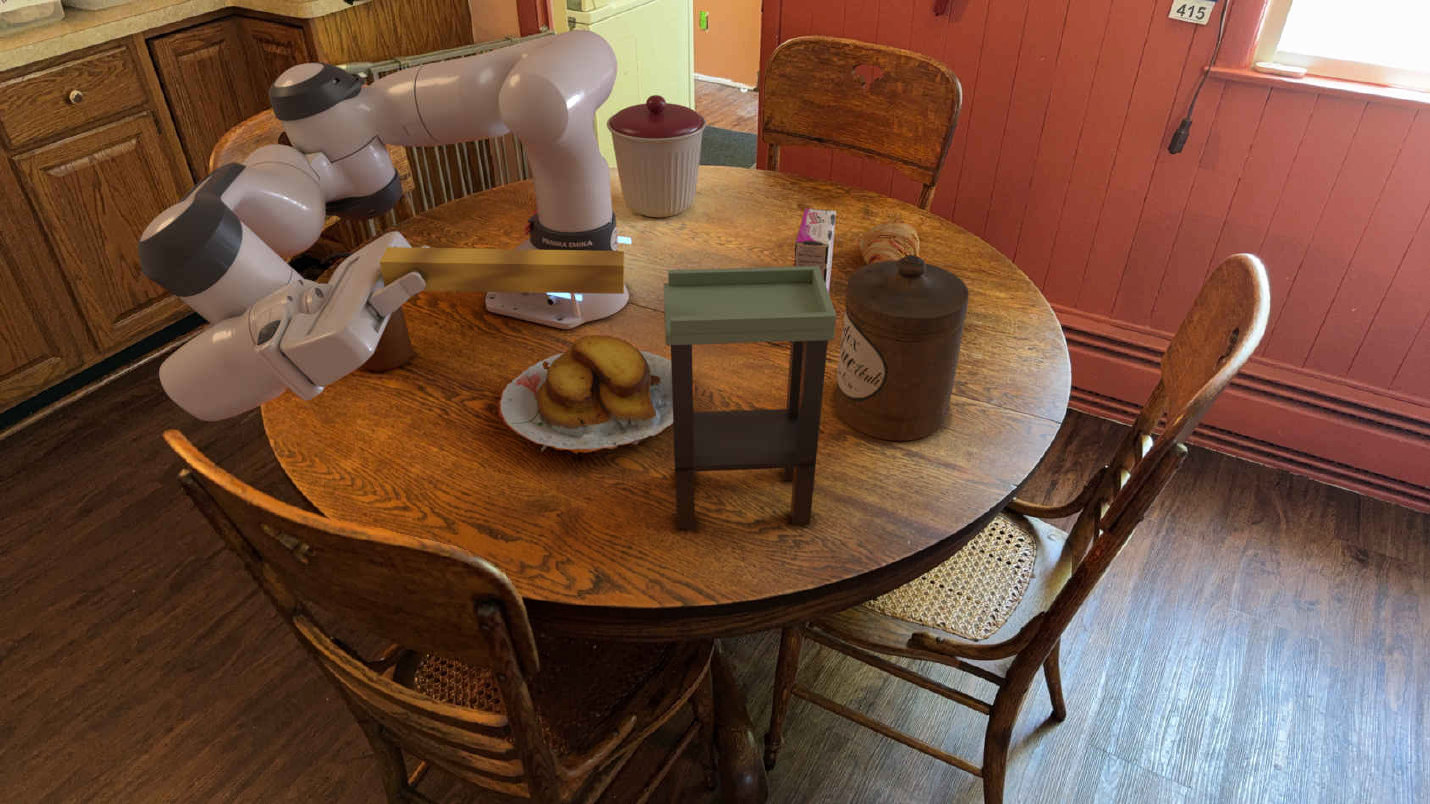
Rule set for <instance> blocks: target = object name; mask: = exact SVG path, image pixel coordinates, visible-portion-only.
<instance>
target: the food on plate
mask: <svg viewBox="0 0 1430 804" xmlns="http://www.w3.org/2000/svg"><path fill="white" fill-rule="evenodd" d="M545 362H546V363H548V365H547V367H548V369H545V368H544V365H543V364H544V363H545ZM695 389H696V388H695V384H694V383H693V403H694V402H695V399H694V395H696V390H695ZM497 408H498V410H497V413H498V418H499V419H501V420H502V422H503V424H504V425H505V426H508V429H509V430H510V431H511V430H513V433H514V434H516V435H518V436H521V437H523V438H524V439H526V440H527V441H531V442H533V443H534V444H536V445H537V444H538V445H542V447H541V451H540V452H543V451H545V449H546V448H547V447H551V448H553V449H555V450H559V451H564V450H567V451H571V452H572V453H574V454H576V455H577V454H578V453H584V454H587V453H591V452H597V451H600V450H602V449H610V450H611V449H612V450H614V449H618V448H619V447H618V446H624V445H628V444H629V445H630V444H632V445H638V444H639V442H642V441H643V440H644V439H647V438H649V436H651V437H654V436H656V435H659V434H661V433H662V432H663V431H664V430H665V429H666V428H667V427H670V426H673V401H672V371H671V359H670V358H666V357H664V356H662V355H660V354H656V353H654V352H649V351H646V350H643V349H638V348H637V347H636V346H634V345H632V343H630V342H629V341H626V340H624V339H621V338H619V337H614V336H612V335H604V334H602V335H601V334H592V335H585V336H581V337H580V338H577V339H575V340H574V341H573V342H572V345H571V349H568V350H566V351H565V352H561V353H557V354H552V355H551V356H548V357H546V358H545V359H543V360H541V361H538V362H536V363H535V364H534V365H531V366H529V367H528V368H527V369H526V370H524V371H523V372H521V374H519V375H518V376H517V377H515V378H514V379H512V381H511V383H510V382H508V383H506V384H505V386H504V387H503V389H502V391H501V393H500V398H499V400H498V404H497ZM575 459H576V460H577V459H578V458H577V457H575Z"/></svg>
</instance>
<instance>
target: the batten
mask: <svg viewBox="0 0 1430 804" xmlns="http://www.w3.org/2000/svg"><path fill="white" fill-rule="evenodd" d="M380 267H381V272H382V277H383V282H384V287H386V286H388V285H389V284H391V283H393V282H394V281H396V280H397V279H399V278H400V277H401V275H402V274H403V273H405V272H407V271H409V270H411V269H412V268H414V267H417V268H419V269H421V270H422V272H423V274H425V275H426V277H427V278H428V281H427V284H426V286H425V288H424V290H422V291H421V292H448V293H449V292H452V293H454V292H457V293H459V292H460V293H488V292H523V293H600V294H624V283H625V251H624V250H617V251H585V250H528V249H514V248H471V247H469V248H461V247H430V248H421V247H413V246H411V247H387V249H386V250H385V252H384V254H383V256H382V258H381V260H380Z"/></svg>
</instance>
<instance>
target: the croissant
mask: <svg viewBox="0 0 1430 804" xmlns="http://www.w3.org/2000/svg"><path fill="white" fill-rule="evenodd" d="M859 250H860V253H861V255H862V256H861V257H862V260H863V261H864V262H865V265H868V264H871V263H875V262H880V261H888V260H900V259H901V258H903V257H906V256H908V255H915V256H918V257H919V255H920V238H919V234H918V232H917V231H916V229H915V228H914V227H912V226H911V225H910V224H907V223H906V222H905V221H904V220H899V219H898V220H897V219H895V220H894V221H887V222H886V221H885V222H881V223H879V224H877V225H875V226H873V227H872V228H870V229H868V230H867V231H866V232H865V233H864V234H863V235H862V236H861V237H860V240H859ZM919 258H920V257H919Z"/></svg>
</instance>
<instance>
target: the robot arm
mask: <svg viewBox="0 0 1430 804" xmlns="http://www.w3.org/2000/svg"><path fill="white" fill-rule="evenodd" d="M617 75H618V60H617V57H616V54H615V51H614V49H613V47H612V46H611V45H610V43H609V42H608V41H607V40H606V39H605V38H604V37H603V36H601V34H598V33H596V32H594V31H592V30H589V29H588V30H587V29H575V30H569V31H568V30H567V31H564V32H558V33H554V34H550V35H547V36H542V37H538V38H535V39H530V40H527V41H523V42H519V43H514V44H512V45H508V46H505V47H500V48H497V49H493V50H490V51H486V52H483V53H480V54H474V55H471V56H465V57H459V58H454V59H453V58H452V59H448V60H441V61H437V62H431V63H426V64H421V65H416V66H412V67H409V68H404V69H401V70H399V71H395V72H393V73H390V74H388V75H385V76H383V77H381V78H378V79H377V80H374V82H372V83H371V84H370V85H368V86H365V87H363V86H364V85H365V82H366V81H365V78H363V77H362V76H361V75H360V74H359V73H356V72H348V71H347V70H345V69H344V68H342V67H340V66H337V65H333V64H332V63H327V62H323V61H317V62H307V63H302V64H296V65H294V66H292V67H290V68H288V69H287V70H285V71H284V72H283V73H281V75H279V76H278V77H277V78H275V79H274V80H273V81H272V83H271V85H270V86H269V90H268V91H267V92H268V99H269V102H270V106H271V109H272V111H273V113H274V115H275V118H276V119H277V120H279V121H280V123H281V125H282V127H283V131H284V132H285V134H286V137H287V139H288V141H289V142H290V144H291V146H290V145H285V144H279V143H274V144H273V143H271V144H266V145H263V146H261V147H258V148H256V149H255V150H253V151H251V153H250V154H249V155H247V157H246V158H245V159H244V160H243V161H242V162H241V163H238V162H234V161H233V162H229V163H226V164H223V165H221V166H219V167H217V168H216V169H214V170H213V171H212V172H210V173H209V174H207V175H206V176H205V177H203V178H202V179H201V180H200V181H198V182H197V183H196V184H195V185H194V186H193V187H192V188H190V189H189V191H188V192H186V193H185V194H184V195H183V196H182V198H181V199H180V200H178V202H176V203H175V204H174V205H172V206H170V207H168V208H167V209H164V210H163V211H161V213H159V214H158V215H157V216H156V217H155V218H153V220H152V221H150V223H149V224H148V225H147V226H146V228H145V229H144V231H143V233H142V234H141V236H140V238H139V239H138V241H137V252H138V259H139V266H140V268H141V272H142V275H144V277H146V278H148V279H149V280H150V281H151V282H154V283H155V284H156V285H158V286H159V287H161V288H162V289H163V290H165V291H167V292H168V293H170V294H171V295H174V296H175V297H177V298H178V299H179V300H181V301H182V302H184V303H185V305H187V306H188V307H190V308H191V309H192V310H193V311H195V312H196V313H197V314H198V315H200V316H201V317H202V318H203V319H204V320H206V321H207V322H209V323H210V324H211V325H212V326H210V327H209V328H207V329H205V330H204V331H202V332H201V333H199V334H198V335H196V336H194V337H193V338H191V339H190V340H188V341H187V342H185V344H183V345H181V346H180V347H179V348H178V349H177V350H175V351H174V352H173V353H172V354H170V355H169V356H168V357H167V358H166V359H165V360H164V361H163V362H162V363H161V365H160V367H159V371H158V374H159V375H158V376H159V381H160V384H161V386H162V388H163V390H164V392H165V393H166V395H167V396H168V398H169V399H170V400H171V401H172V402H173V403H174V404H175V405H176V406H177V407H179V408H180V409H181V410H182V411H184V412H185V413H186V414H189V415H190V416H192V417H193V418H196V419H198V420H199V421H204V422H219V421H223V420H227V419H231V418H233V417H236V416H239V415H242V414H245V413H247V412H249V411H252V410H254V409H256V408H258V407H260V406H263V405H265V404H267V403H269V402H271V401H273V400H275V399H276V398H278V397H280V396H281V395H282V394H283V393H284V392H285V391H286V390H290V391H291V392H292V393H294V395H296V396H298V398H300V399H301V400H302V401H304V402H306V401H310V400H312V399H314V398H315V397H317V396H319V395H321V394H322V393H323V391H324V389H325V388H326V387H328V386H329V385H332V384H333V383H336V382H337V381H339V380H341V379H343V378H344V377H346V376H347V375H349V374H351V373H353V372H354V371H356V370H357V369H359V368H360V367H362V366H361V365H363V364H364V363H365V362H366V361H367V360H368V359H369V358H370V357H371V356H372V355H373V353H374V351H375V349H376V347H377V344H378V342H379V340H380V338H381V336H382V333H383V331H384V329H385V327H386V325H387V322H388V320H389V318H390V316H391V313H393V312H394V311H396V310H397V309H398V308H399V307H400V306H403V305H404V304H405V303H406V302H407V301H408V300H410V299H411V298H412V297H413V296H415V295H417V294H419V293H420V292H423V291H422V290H424V288H425V286H426V284H427V281H428V278H427V277H426V275H425V274H423V272H422V270H421V269H419V268H417V267H414V268H412V269H411V270H409V271H407V272H405V273H403V274H402V275H401V277H400V278H399V279H397V280H396V281H394V282H393V283H391V284H389V285H388V286H386V287H384V282H383V277H382V272H381V267H380V260H381V258H382V256H383V254H384V252H385V250H386V249H387V247H412V245H411V244H410V243H409V241H408V240H407V239H406V238H405V237H404V236H403V235H402V233H400V231H390V232H387V233H385V234H383V235H381V236H379V237H378V238H376V239H374V240H373V241H372V242H370V243H368V244H366V245H365V246H364V247H362V248H360V249H359V250H357V251H355V252H354V253H353V252H352V253H351V252H336V253H332V254H329V255H327V256H325V257H323V258H322V259H321V261H320V265H326V264H328V263H329V262H330V261H332V260H335V259H342V258H343V259H344V258H345V259H344V260H343V261H342V262H341V263H340V264H338V266H337V267H336V269H335V270H334V271H333V273H332V275H331V277H330V278H329V280H328V282H327V283H323V282H322V283H318V282H316V281H313V280H311V279H305V278H304V277H303V276H302V275H301V274H300V273H298V271H297V270H295V269H294V268H293V267H292V266H291V265H290V264H289V263H287V262H286V261H285V260H284V259H285V258H286V259H287V258H291V257H295V256H298V255H300V254H302V253H305V252H306V251H307V250H309V249H311V247H313V245H315V243H316V242H317V241H318V240H319V238H320V237H321V235H322V233H323V231H324V227H325V225H326V216H330V217H338V218H340V219H342V220H347V221H353V222H365V221H370V220H374V219H376V218H379V217H381V216H383V215H385V214H387V213H388V212H390V211H391V210H392V209H394V208H395V207H396V206H397V205H398V203H399V201H400V199H401V198H402V196H403V194H404V192H403V191H404V190H403V185H402V180H401V177H400V174H399V171H398V169H397V168H396V167H394V164H393V161H392V158H391V155H390V154H389V151H388V149H387V145H390V146H397V147H409V148H410V147H411V148H428V147H440V146H441V147H442V146H449V145H457V144H463V143H469V142H477V141H483V140H484V141H485V140H491V139H496V138H500V137H503V136H505V135H507V134H509V133H511V134H512V135H513V136H514V137H515V138H516V139H518V140H519V141H520V143H521V146H522V148H523V150H524V153H525V156H526V158H527V161H528V164H529V167H530V171H531V176H532V182H533V189H534V197H535V205H536V208H535V209H533V212H532V213H533V214H532V216H531V217H530V218H528V219H527V224H526V225H525V226H524V228H523V231H524V236H525V237H526V236H527V235H529V237H527V238H526V239H525V240H524V241H522V242H521V243H519V244H518V245H517V246H516V247H514V248H513V249H528V250H585V251H618V247H619V243H620V244H628V245H631V244H632V237H627V236H619V231H618V225H617V219H616V213H615V212H614V210H613V202H612V201H613V200H612V188H611V186H612V185H611V175H610V166H609V163H608V161H607V159H606V158H605V157H604V156H603V155H602V153H601V150H600V147H599V144H598V140H597V137H596V133H595V125H594V123H595V122H594V121H595V116H596V112H597V111H598V109H600V107H602V106H603V104H605V102H607V100H608V99H609V97H610V96H611V94H612V92H613V89H614V86H615V83H616V79H617ZM420 248H431V247H430V246H428V245H422V246H420ZM629 298H630V293H629V291H628V289H627V285H626V282H624V294H600V293H523V292H486V296H485V309H486V311H487V312H489V313H493V314H497V315H502V316H505V317H506V316H507V317H509V318H514V319H519V320H524V321H526V322H531V323H534V324H535V323H536V324H539V325H544V326H547V327H553V328H555V329H556V328H557V329H561V330H571V329H574V328H576V327H578V326H581V325H583V324H585V323H588V322H593V321H598V320H601V319H605V318H608V317H610V316H613V315H614V314H616V313H618V312H619V311H621V310H622V309H623V308H624V307H625V306H626V305H627V303H628V302H629Z"/></svg>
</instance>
